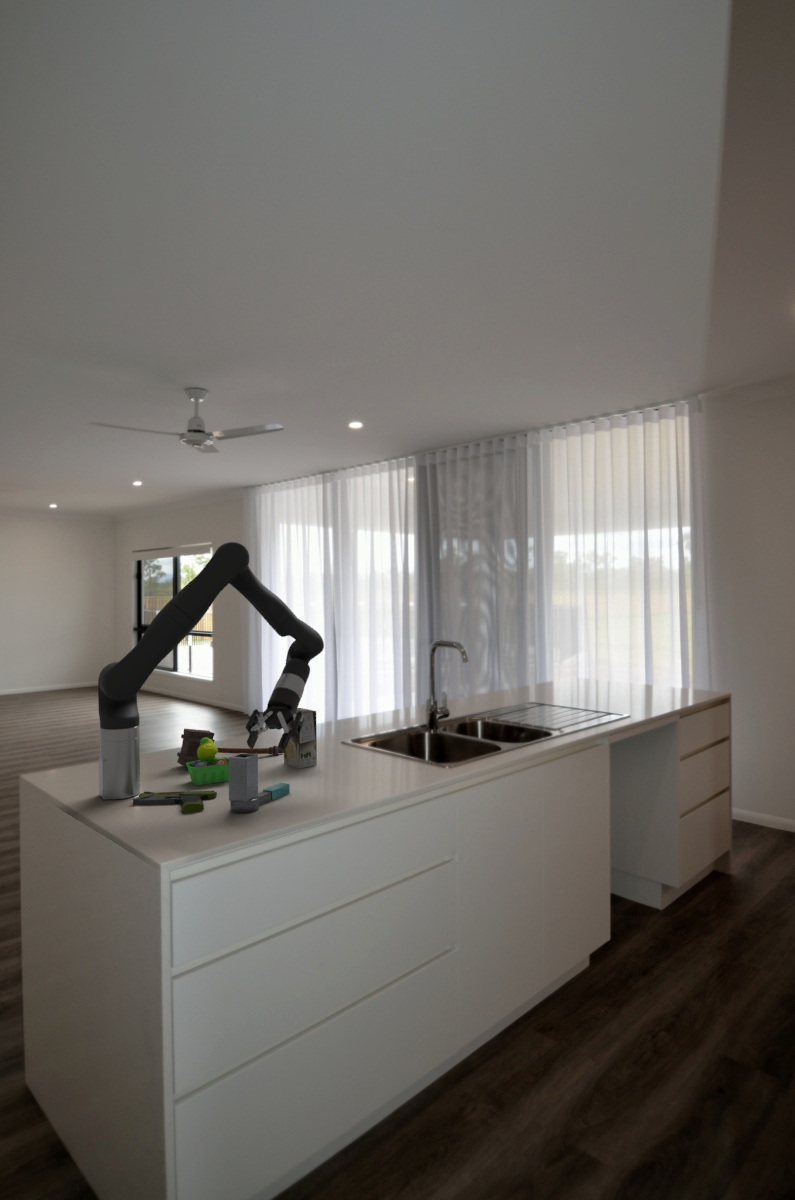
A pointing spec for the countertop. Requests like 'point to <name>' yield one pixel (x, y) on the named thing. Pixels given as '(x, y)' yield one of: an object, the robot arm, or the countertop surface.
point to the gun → (176, 799)
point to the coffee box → (303, 742)
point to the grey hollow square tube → (243, 777)
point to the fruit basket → (208, 765)
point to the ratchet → (260, 799)
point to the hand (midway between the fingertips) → (265, 747)
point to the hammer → (194, 737)
